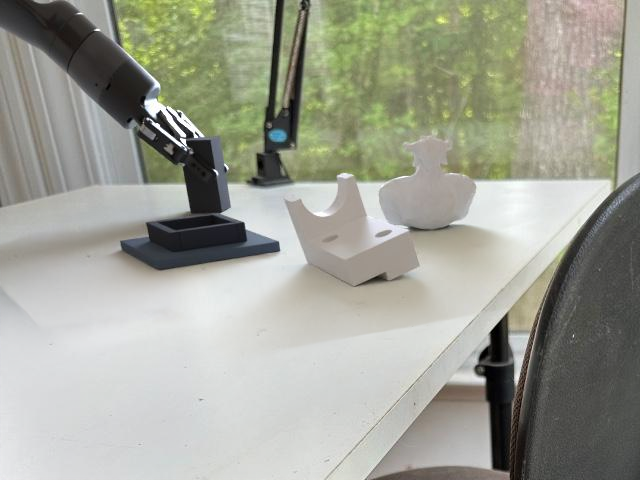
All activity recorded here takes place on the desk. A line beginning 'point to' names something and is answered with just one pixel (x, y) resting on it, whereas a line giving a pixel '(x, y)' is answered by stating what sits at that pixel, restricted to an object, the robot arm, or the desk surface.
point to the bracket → (352, 238)
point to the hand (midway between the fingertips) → (219, 177)
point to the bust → (427, 189)
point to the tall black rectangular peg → (198, 191)
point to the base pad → (196, 241)
